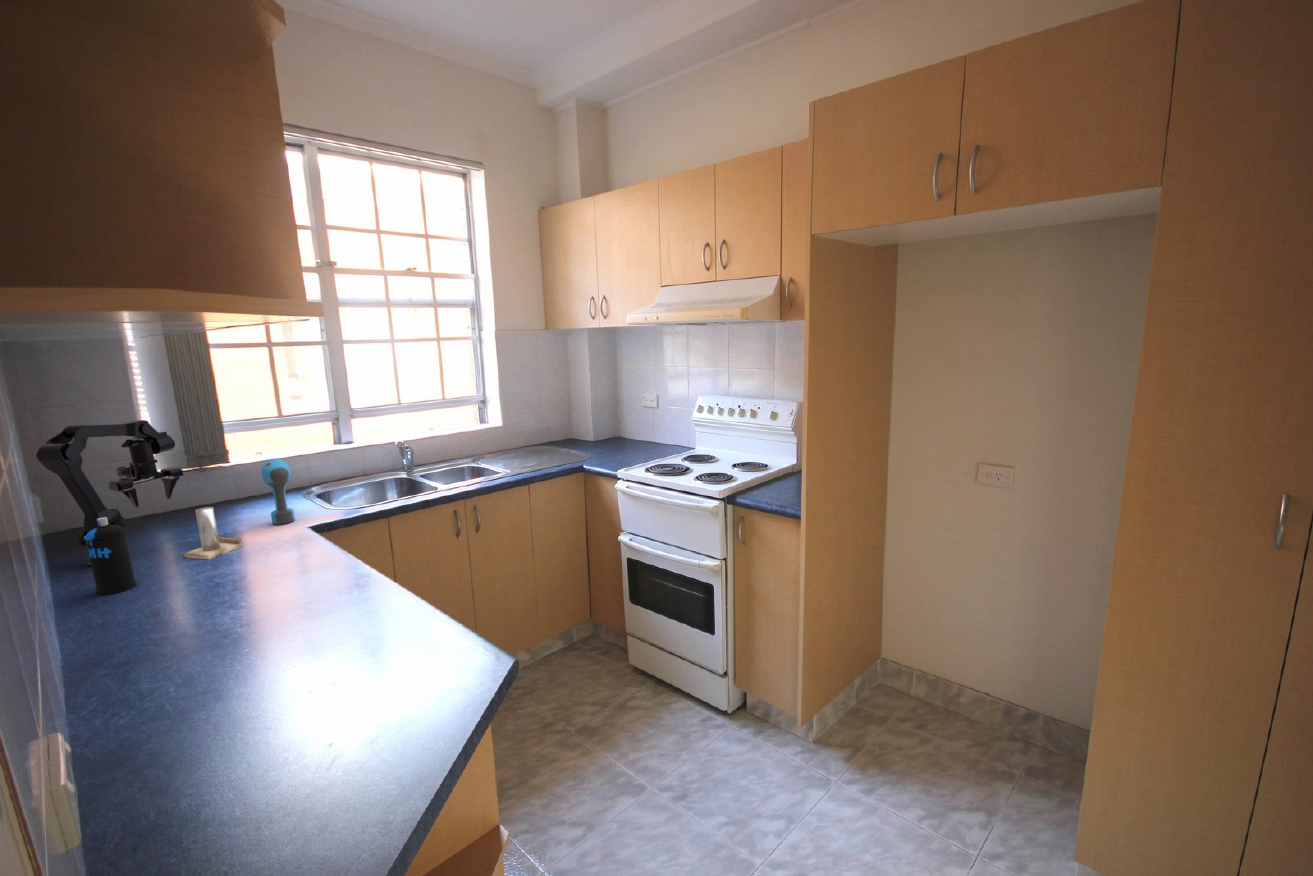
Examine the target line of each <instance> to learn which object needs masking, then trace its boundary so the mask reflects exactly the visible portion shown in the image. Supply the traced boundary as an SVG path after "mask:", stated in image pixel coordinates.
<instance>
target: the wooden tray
mask: <svg viewBox="0 0 1313 876" xmlns="http://www.w3.org/2000/svg"><path fill="white" fill-rule="evenodd" d="M219 542H220V548H219V549H216V550H213V551H203V550H202V546H201V547H198V548H195V549H193V550H190V551H187V552H185V553H183V555H184V558H189V559H191V558H192V559H198V560H199V559H201V560H212V559H213V558H217V557H219V556H221V555H220V554H222V555H225V554H227V553H230V552H232V551H231V550H233V549H235V550H238V549H240V548H242V546H243V547H244V545H243V540H242V538H233V537H222V536H219ZM229 551H230V552H229ZM233 551H234V550H233ZM218 555H219V556H218ZM216 556H217V557H216Z"/></svg>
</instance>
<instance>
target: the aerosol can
mask: <svg viewBox="0 0 1313 876" xmlns="http://www.w3.org/2000/svg"><path fill="white" fill-rule="evenodd" d="M97 522H98V527H97V528H94V529H92V530H91V531H89V532H88V533H87V535H86V536H85V537H84V539H86V543H87V545H86V548H88V550H87V553H88V552H89V554H88V558H89V557H90V559H89V563H90V562H91V565H90V566H91V571H92V576H93V580H94V584H95V588H96V592H95V594H96V595H97V596H110V595H115V594H120V593H123V592H127V591H129V590H131V589H133V588H134V587H136V586H137V585H138V582H137V581H136V580H135V575H134V569H133V565H132V564H133V563H132V560H131V556H130V550H129V546H128V541H127V536H126V529H125V527H124V528H122V527H120V526H117V525H110V524H108V520H107V517H102V518H98V519H97ZM122 591H123V592H122ZM119 592H120V593H119Z"/></svg>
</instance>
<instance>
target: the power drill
mask: <svg viewBox="0 0 1313 876" xmlns="http://www.w3.org/2000/svg"><path fill="white" fill-rule="evenodd" d="M260 474H261V476H262V480H263V482H264V484H265V485H266V486H268V487H270V489H271V491H272V494H273V498H274V504H275V510H273V511H271V512H270V518H271V522H272V524H273V525H275V526H281V525H282V526H283V525H286V524H291V523H293V522H294V521H296V517H295V510H294V509H293V508H291V507H290V508H289V507H288V503H287V497H286V487H287V484H288V483H289V482H290V481H291V480H290V479H291V476H292V470H291V468H290V465H289V463H287V462H286V461H285V460H283V459H279V458H270V459H268V460H266V461H265V462H263V463H262V465H261V467H260Z"/></svg>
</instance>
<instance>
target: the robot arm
mask: <svg viewBox="0 0 1313 876" xmlns="http://www.w3.org/2000/svg"><path fill="white" fill-rule="evenodd" d="M98 437H99V438H103V437H117V438H123V439H126V440H125V441H124V442H123V443H122V444H121V445H120V447H121V448H127V449H128V452H129V457H130V462H129V467H126V466H125V465H124V466H119V467H116V473H117V476H118V477H119V478H118V479H113V480H110V481H109V482H108V489H109V491H115V492H119V493H122V494H123V495H124V496H125V497H127V499H128V500H129V502H130V503H131V504H132V505H133V507H134V508H138V509H139V499H138V495H137V490H136V487H134V486H135V485H137V484H141V483H146V482H149V481H153V480H158V479H160V480H161V481H162V483H163V487H164V493H165V497H166V499H167V500H170V499H171V497H172V494H173V490H174V489H175V486H176V485H177V482H178V481H179V480H181V477H183V476H185V473H184V470H183V468H181V467H177V466H169V467H166V468H165V467H164V468H162V469H160V471H158V468H157V465H156V464H157V463H158V460H157V459H155V455H158V454H161V453H164V452H169V451H172V450H173V449H174V448H175V446H176V441H175V440H174V438H172V436H170V435H169V434H168V433H167V431H157V430H156V429H155V428H154V427H153V426H152V425H151V423H149V420H145V419H141V420H138V419H136V420H123V421H118V422H115V423H113V424H95V425H93V424H92V425H88V424H70V425H67V426H65V427H64V429H63V430H62V431H61V432H60V433H57V434H56V435H55V436H53V437H51V438H49V439H47V441H46V442H45V443H44V444H43V445H41V446H40V447H39V448H38V449H37V452H36V454H35V455H36V458H37V460H38V462H39V463H40V464H41V465H43V467H45V468H46V470H49V471H50V472H51V473H54V474H55V475H57V476H58V477H59V478H60V480H61V482H62V483H63V484H64V485H65V488H66V489H67V490H68V492H69V494H70V495H71V496H72V498H73V499H74V501H75V503H76V504H77V506H78V507H79V509H80V510H81V512H82V513H83V515H84V516H83V517H84V518H83V526H84V531H83V532H82V533H81V535H80V537H79V538H78V540H77V541H78V543H79V545H80V546H82V547H83V546H87V543H86V539H84V537H85V536H86V535H87V533H88V532H89V531H91V530H92V529H94V528H97V527H98V522H97V519H98V518H102V517H107V520H108V524H110V525H117V526H120V527H122V528H124V529H125V527H126V525H125V521H124V520H125V518H124V517H123V516H122V514H121V513H120V512H121V511H120V510H119V509H118V508H107V507H106V506H105V504H104V502H103V501H102V500H101V497H100V496H99V495H98V493H97V491H96V490H95V488H94V487H93V485H92V484H91V482H90V480H89V479H88V477H87V475H86V474H85V472H84V471H83V469H82V464H83V457H82V455H81V453H82V452H83V451H84V450H85V449H86V447H87V442H88V441H87V440H88V439H89V438H98ZM86 548H87V547H86ZM87 553H88V555H89V552H88V548H87ZM88 558H89V560H90V557H89V556H88ZM86 566H91V562H90V561H89V562H87V563H86Z"/></svg>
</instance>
